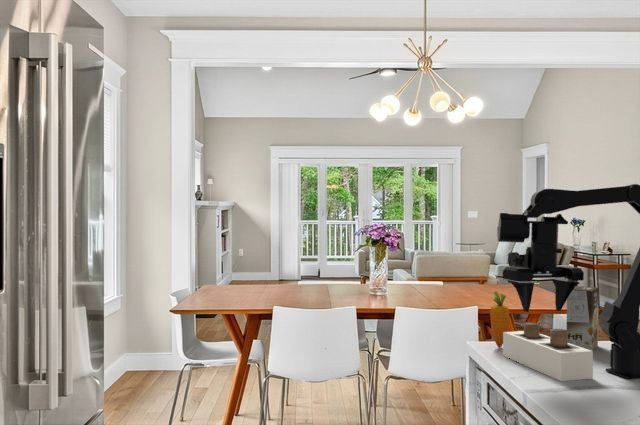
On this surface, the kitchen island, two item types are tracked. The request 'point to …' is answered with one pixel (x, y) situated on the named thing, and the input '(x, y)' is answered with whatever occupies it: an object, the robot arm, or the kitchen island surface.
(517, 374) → the kitchen island surface
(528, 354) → the white peg holder block
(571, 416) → the kitchen island surface
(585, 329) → the coffee box
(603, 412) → the kitchen island surface
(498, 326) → the carrot
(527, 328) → the peg far
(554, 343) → the peg near
